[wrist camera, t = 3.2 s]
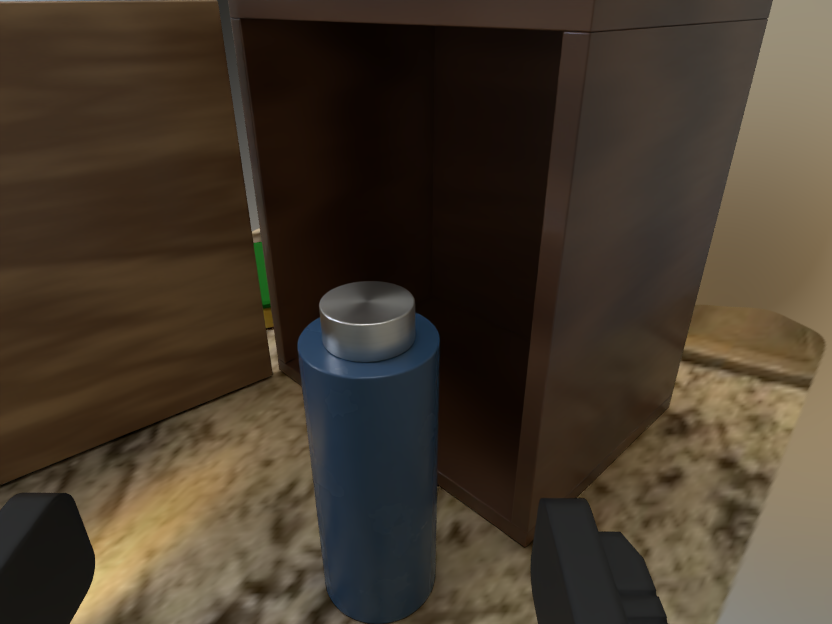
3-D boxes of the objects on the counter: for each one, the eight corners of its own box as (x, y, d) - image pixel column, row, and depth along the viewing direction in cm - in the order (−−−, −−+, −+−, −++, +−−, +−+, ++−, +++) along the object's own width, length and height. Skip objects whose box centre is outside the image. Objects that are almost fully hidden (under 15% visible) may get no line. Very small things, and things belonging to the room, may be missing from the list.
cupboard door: (-124, 462, 34) (-395, 3, 23) (233, 337, 46) (172, -1, 35) (-123, 535, 29) (-463, 4, 18) (273, 375, 42) (218, 0, 30)
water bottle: (458, 572, 27) (471, 300, 21) (375, 649, 24) (357, 357, 17) (384, 512, 31) (374, 259, 24) (303, 572, 28) (263, 301, 21)
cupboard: (525, 548, 29) (595, -5, 17) (279, 369, 42) (226, -4, 31) (669, 406, 39) (774, -6, 27) (431, 299, 52) (434, -4, 41)
